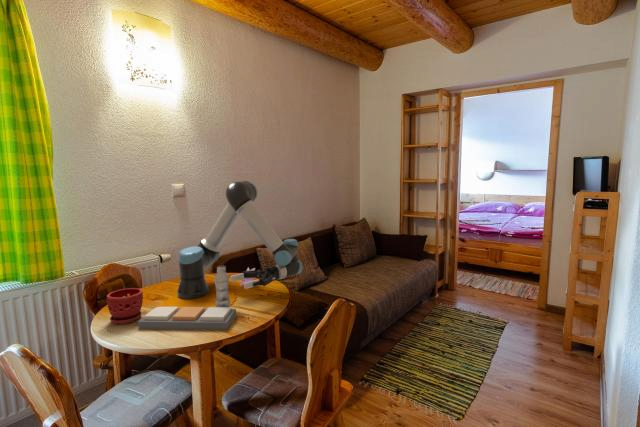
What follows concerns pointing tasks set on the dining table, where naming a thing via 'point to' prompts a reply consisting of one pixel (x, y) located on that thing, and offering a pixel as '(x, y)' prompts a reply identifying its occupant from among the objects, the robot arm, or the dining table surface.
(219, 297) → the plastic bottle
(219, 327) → the keypad frame
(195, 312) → the orange key
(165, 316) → the pale key
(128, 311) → the plant pot
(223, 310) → the pale key
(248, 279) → the lily
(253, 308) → the dining table surface
